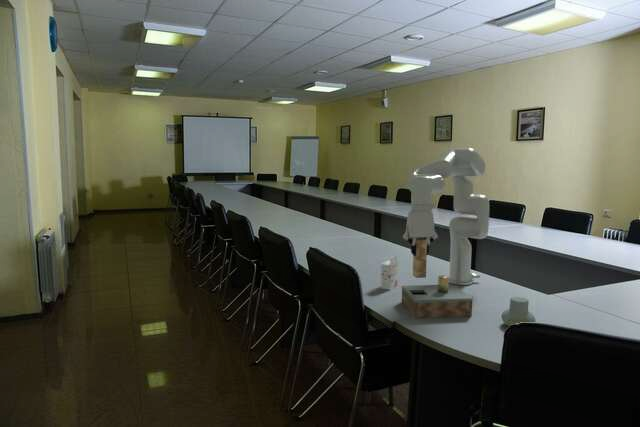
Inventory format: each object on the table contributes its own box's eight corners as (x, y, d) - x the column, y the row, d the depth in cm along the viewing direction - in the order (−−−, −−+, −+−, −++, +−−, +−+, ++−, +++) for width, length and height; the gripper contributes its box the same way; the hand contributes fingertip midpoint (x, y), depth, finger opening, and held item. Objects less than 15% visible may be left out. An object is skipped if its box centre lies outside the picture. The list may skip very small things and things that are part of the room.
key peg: (422, 274, 170) (423, 237, 168) (426, 277, 166) (427, 239, 164) (412, 275, 170) (413, 237, 168) (415, 277, 166) (416, 240, 164)
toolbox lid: (453, 286, 179) (454, 270, 178) (472, 300, 161) (473, 282, 160) (401, 288, 177) (402, 271, 176) (415, 302, 159) (416, 284, 158)
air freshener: (501, 328, 150) (503, 301, 149) (500, 320, 158) (502, 294, 157) (536, 333, 147) (537, 305, 145) (533, 324, 154) (535, 297, 153)
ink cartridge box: (387, 283, 204) (388, 253, 202) (397, 285, 201) (398, 254, 199) (380, 288, 196) (380, 257, 194) (390, 290, 194) (391, 258, 192)
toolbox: (452, 300, 180) (453, 286, 179) (471, 316, 162) (472, 300, 161) (401, 302, 178) (401, 288, 177) (415, 318, 160) (415, 302, 159)
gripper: (438, 206, 169) (437, 251, 171) (397, 207, 167) (396, 253, 170) (445, 209, 161) (444, 256, 164) (402, 210, 160) (401, 257, 162)
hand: (419, 254), depth 167 cm, fingers closed on key peg, 4 cm apart
